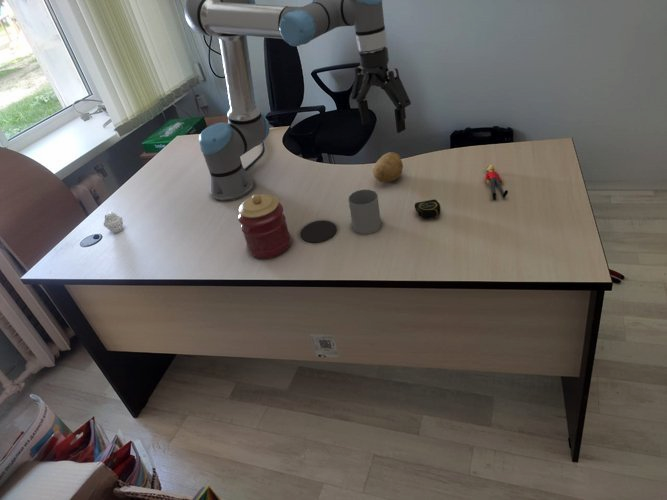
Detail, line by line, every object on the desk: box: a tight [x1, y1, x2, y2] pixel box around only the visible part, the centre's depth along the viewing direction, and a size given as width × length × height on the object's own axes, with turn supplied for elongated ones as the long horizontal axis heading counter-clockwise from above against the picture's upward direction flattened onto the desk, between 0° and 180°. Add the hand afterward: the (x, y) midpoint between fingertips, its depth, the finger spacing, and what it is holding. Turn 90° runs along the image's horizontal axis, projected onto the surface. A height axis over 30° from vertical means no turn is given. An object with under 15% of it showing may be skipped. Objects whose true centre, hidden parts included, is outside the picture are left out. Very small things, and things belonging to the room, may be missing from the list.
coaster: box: [300, 220, 338, 244], centre depth 143 cm, size 11×11×1 cm
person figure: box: [485, 164, 509, 201], centre depth 147 cm, size 5×4×18 cm
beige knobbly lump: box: [103, 211, 124, 234], centre depth 160 cm, size 6×6×7 cm
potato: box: [371, 151, 404, 184], centre depth 159 cm, size 10×14×8 cm
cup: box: [347, 189, 382, 235], centre depth 138 cm, size 8×8×10 cm
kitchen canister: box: [237, 193, 292, 260], centre depth 136 cm, size 13×13×18 cm
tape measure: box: [414, 199, 441, 220], centre depth 140 cm, size 7×7×4 cm
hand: (383, 127), depth 135 cm, fingers open, 13 cm apart
